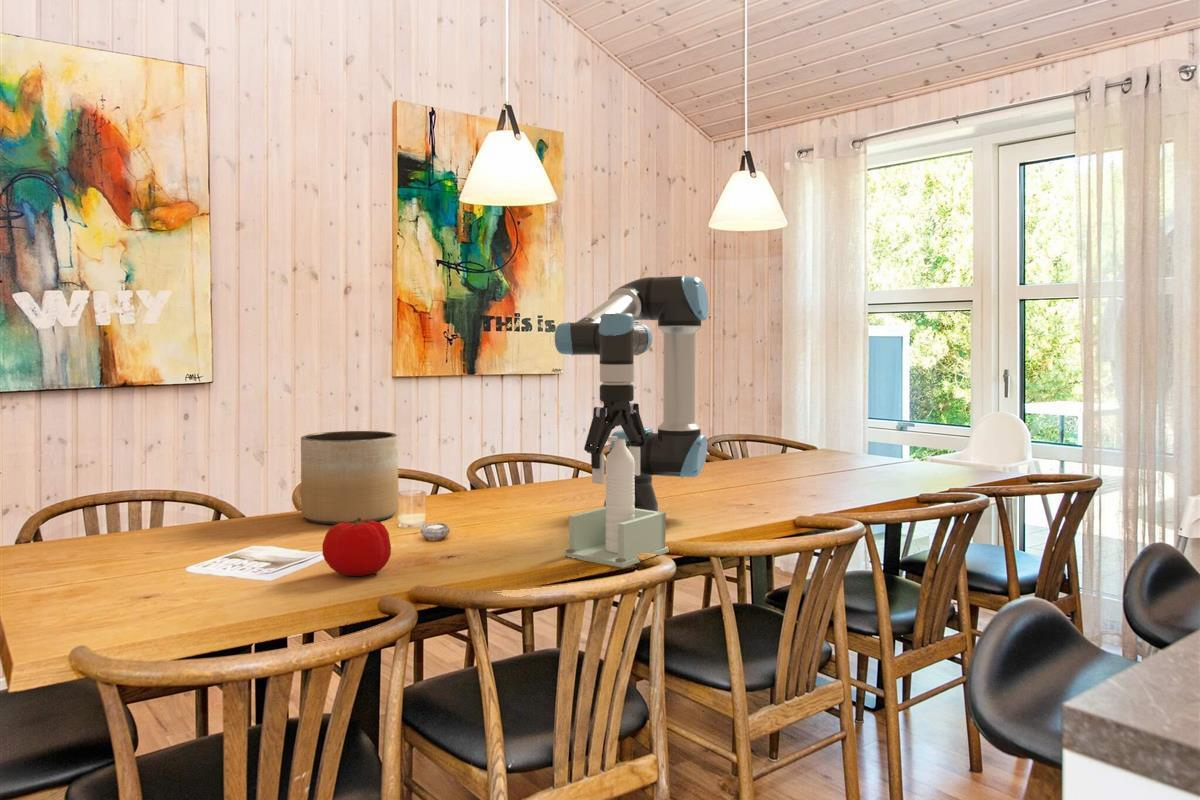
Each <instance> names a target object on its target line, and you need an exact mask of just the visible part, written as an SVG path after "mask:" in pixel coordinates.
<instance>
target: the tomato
mask: <svg viewBox="0 0 1200 800" xmlns="http://www.w3.org/2000/svg"><path fill="white" fill-rule="evenodd" d="M321 546H322V555H323V558H324V561H325V563H326V564H327V565H328V566H329V568H330V569H332V570H333V571H334V572H336V573H337V574H341V575H345V576H348V577H361V576H368V575H372V574H376V573H378V572H380V571H381V570H383V568H385V566H386V564H387V563H388V562H389V559H390V557H391V554H392V547H391V541H390V534H389V532H388V530H387V528H386V526H385V524H383V523H382V522H380V521H373V520H369V519H361V518H357V519H355V520H354V521H345V522H340V523H339V524H333V526H331V527H330V528H329V529H328V531H327V532H326V534H325V536H324V539H323V542H322V545H321Z"/></svg>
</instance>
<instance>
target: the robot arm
mask: <svg viewBox="0 0 1200 800" xmlns="http://www.w3.org/2000/svg"><path fill="white" fill-rule="evenodd" d="M708 316H709V299H708V293H707V290H706V287H705V284H704V282H703V281H702V279H700V277H697V276H691V275H689V276H688V275H682V276H678V275H677V276H655V277H653V276H652V277H651V276H648V277H643V278H642V277H641V278H638V279H635V280H632V281H630V282H627V283H625V284H624V285H622V286H619V287H618V288H616V289H615V290H613V291H612V292H611V293H610V294H609V296H608V298H607V300H606V301H605V302H603V303H602V304H600V305H598V306H597V307H596V308H594V309H593V310H592V311H591V312H589V313H588V314H587V315H585V316H583V317H581V318H580V319H579V320H578V321H576V322H570V321H569V322H563V323H562V322H561V323H559V324H558V325H557V326H556V328H555V332H554V346H555V348H556V351H557V353H559V354H561V355H571V356H593V355H594V356H595V355H597V356H599V381H600V383H602V384H600V385H599V400H600V401H601V402H602V403H603V407H602V406H601V407H600V406H594V407H593V411H592V412H593V413H592V420H591V422H590V423H591V424H590V426H589V427H590V428H589V430H588V434H587V437H586V440H585V444H584V448H583V449H584V451H585V452H586V453H588V454H591V455H590V456H591V457H590V459H591V462H590V464H591V473H592V474H591V482H592V484H598V485H604V484H605V453H602V452H603V450H604V448H605V446H606V443H607V442H608V441H607V439H608V437H609V436H617V437H618V439H625V443H626V447H627V448H628V450H629V451H630V453H631V454H632V456H633V458H634V461H635V470H634V472H635V474H634V476H635V478H634V480H635V482H634V483H635V485H634V487H635V489H634V490H635V492H634V494H635V503H634V506H635V508H636V509H643V510H650V511H657V512H659V503H658V500H657V496H656V493H655V490H654V487H653V476H660V477H678V478H679V477H680V478H682V479H684V478H696V477H697V476H699V475H700V474H701V473H702V471H703V469H704V466H705V464H706V460H707V454H708V438H707V436H706V435H704V434H702V433H701V432H702V431H701V426H699V425H698V424H697V422H696V333H697V332H698V331H699V329H701V328H702V321H705V320H707V318H708ZM638 321H657V328H658V329H659V330H660V331H661V332H662V333H663V383H662V385H663V389H662V390H663V395H662V396H663V399H662V400H663V406H662V407H663V418H662V419H663V421H662V422H661V423H660V424H659V425H658V427H657V433H655V432H654V430H653V428H652V427H650V426H648V427H644V424H643V421H642V418H641V414H640V406H639V403H633V401H634V399H635V397H634V395H635V387H634V384H632V383H633V382H634V381H635V365H634V364H635V363H634V362H635V361H634V356H640V355H642V354H644V353H646V352H647V351H648V350H649V349H650V348H651V345H652V343H653V333H652V332H651V329H650V328H649V327H648V326H647V325H646V324H643V323H642V322H638ZM619 426H620V427H621V428H622V429H621V430H616V431H613V433H612V430H614V429H615V428H616V427H619ZM611 433H612V434H611ZM614 445H615V441H610V445H609V453H610V452H611V450H612V449H613V447H614ZM603 507H606V498H605V500H604V503H603Z"/></svg>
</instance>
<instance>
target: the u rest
mask: <svg viewBox="0 0 1200 800" xmlns="http://www.w3.org/2000/svg"><path fill="white" fill-rule="evenodd" d="M634 514H635V519H633V520H629V521H626V522H622V523H619V524H618V553H611V552H608V551H606V507H604V506H603V507H599V508H595V509H590V510H586V511H583V512H579V513H574V514H570V515H568V549H565V551H564V553H563V557H564V556H568V557H567V558H569V557H574V558H577V559H576V560H579V561H586V562H590V563H595V564H601V565H605V566H606V565H607V566H612V567H616V568H622V569H625V568H626V567H630V566H632V565H636V564H638V563H641V562H640V561H639V559H638V558H637V557H636V556H637V554H638V553H650V554H656V555H659V556H661V555H664V554H667V553H669V548H668V547H669V546H666V524H667V523H666V512H662V511H658V512H657V511H650V510H643V509H636V508H635V512H634ZM574 558H573V559H574Z"/></svg>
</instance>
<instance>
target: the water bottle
mask: <svg viewBox="0 0 1200 800" xmlns="http://www.w3.org/2000/svg"><path fill="white" fill-rule="evenodd" d="M611 441H615V445H614V447H613V449H612V450H611V452H610V451H609V453H608V455H607V456H606V457H605V458H606V459H605V462H604V468H605V499H606V551H608V552H611V553H618V524H619V523H622V522H626V521H629V520H633V519H635V514H634V512H635V506H634V503H635V494H634V492H635V490H634V489H635V487H634V485H635V483H634V482H635V480H634V478H635V476H634V474H635V472H634V470H635V461H634V458H633V456H632V454H631V453H630V451H629V450H628V448H627V447H626V443H625V439H618V437H617V436H611V435H609V437H608V439H607V442H611Z"/></svg>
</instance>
